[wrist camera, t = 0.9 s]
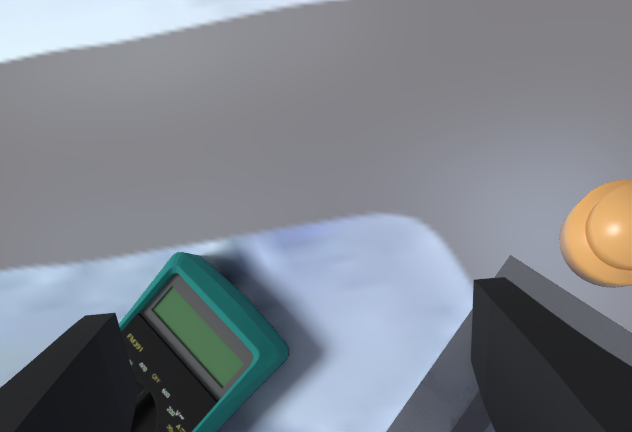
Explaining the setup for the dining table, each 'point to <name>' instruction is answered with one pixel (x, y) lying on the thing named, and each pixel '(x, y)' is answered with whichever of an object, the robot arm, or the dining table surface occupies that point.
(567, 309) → the junction plate
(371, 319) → the dining table surface
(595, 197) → the orange rounded knob
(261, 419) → the dining table surface
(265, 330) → the digital multimeter
